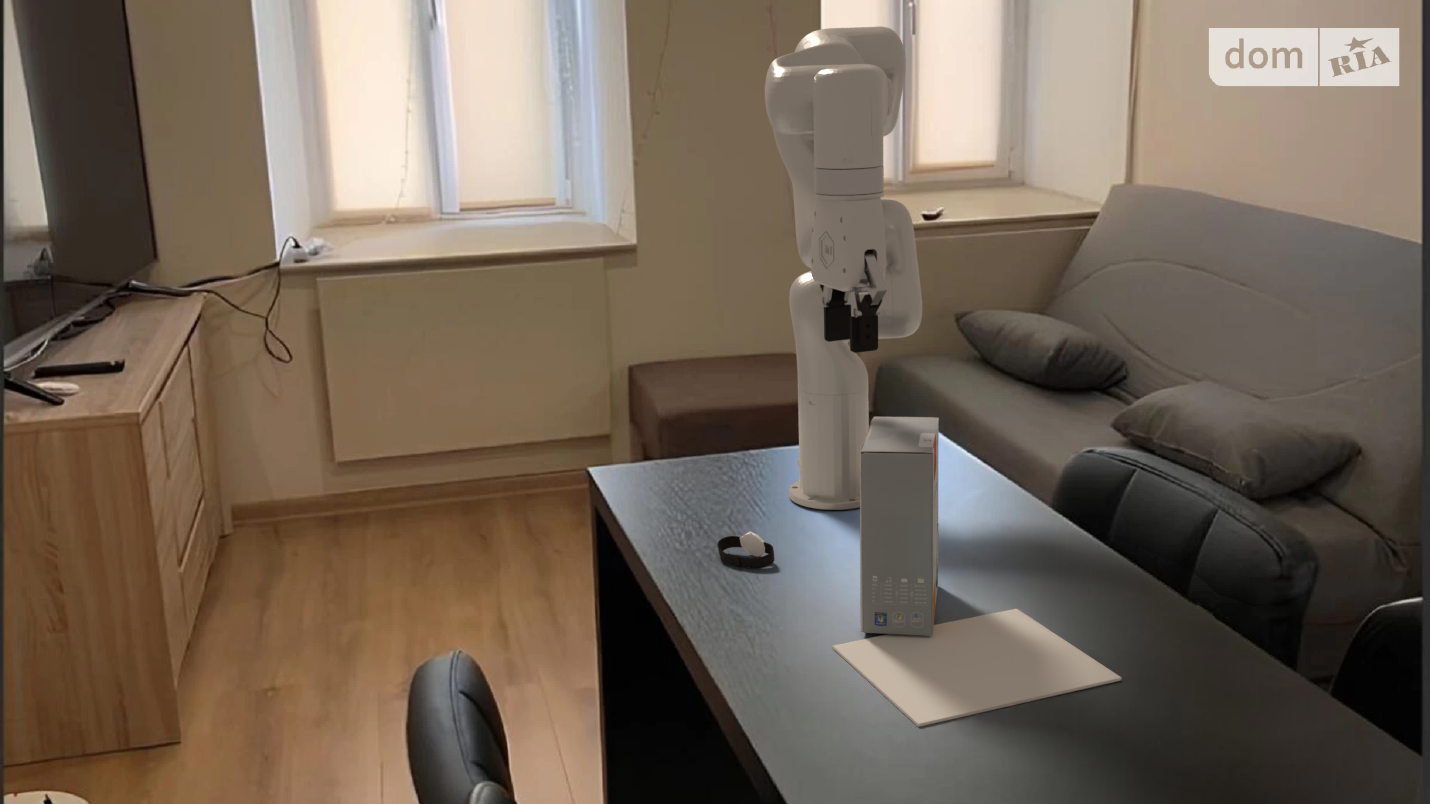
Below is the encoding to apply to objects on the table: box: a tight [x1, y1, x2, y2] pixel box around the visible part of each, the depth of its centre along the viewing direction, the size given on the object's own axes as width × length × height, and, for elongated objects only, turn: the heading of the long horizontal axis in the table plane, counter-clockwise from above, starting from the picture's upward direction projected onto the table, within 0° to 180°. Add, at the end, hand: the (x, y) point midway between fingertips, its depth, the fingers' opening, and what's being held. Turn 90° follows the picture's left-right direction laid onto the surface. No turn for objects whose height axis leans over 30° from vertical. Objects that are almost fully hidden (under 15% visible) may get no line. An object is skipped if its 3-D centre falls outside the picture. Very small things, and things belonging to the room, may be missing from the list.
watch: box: [717, 530, 775, 570], centre depth 159 cm, size 8×5×4 cm, turn 54°
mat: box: [832, 608, 1122, 728], centre depth 130 cm, size 18×22×1 cm
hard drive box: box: [859, 416, 940, 636], centre depth 141 cm, size 16×8×20 cm, turn 168°
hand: (850, 343), depth 147 cm, fingers open, 5 cm apart
